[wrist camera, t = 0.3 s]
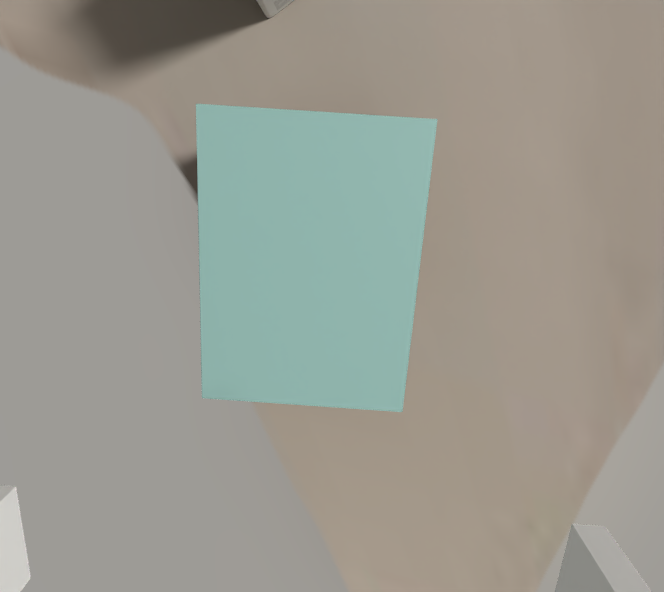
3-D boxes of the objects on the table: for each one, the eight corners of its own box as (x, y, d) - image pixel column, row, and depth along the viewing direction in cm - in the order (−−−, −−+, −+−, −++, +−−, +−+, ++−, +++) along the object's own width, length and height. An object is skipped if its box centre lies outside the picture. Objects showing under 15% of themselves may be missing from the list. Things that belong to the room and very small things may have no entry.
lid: (219, 112, 25) (196, 103, 21) (422, 125, 25) (437, 119, 21) (220, 366, 29) (202, 398, 25) (394, 378, 29) (402, 412, 25)
